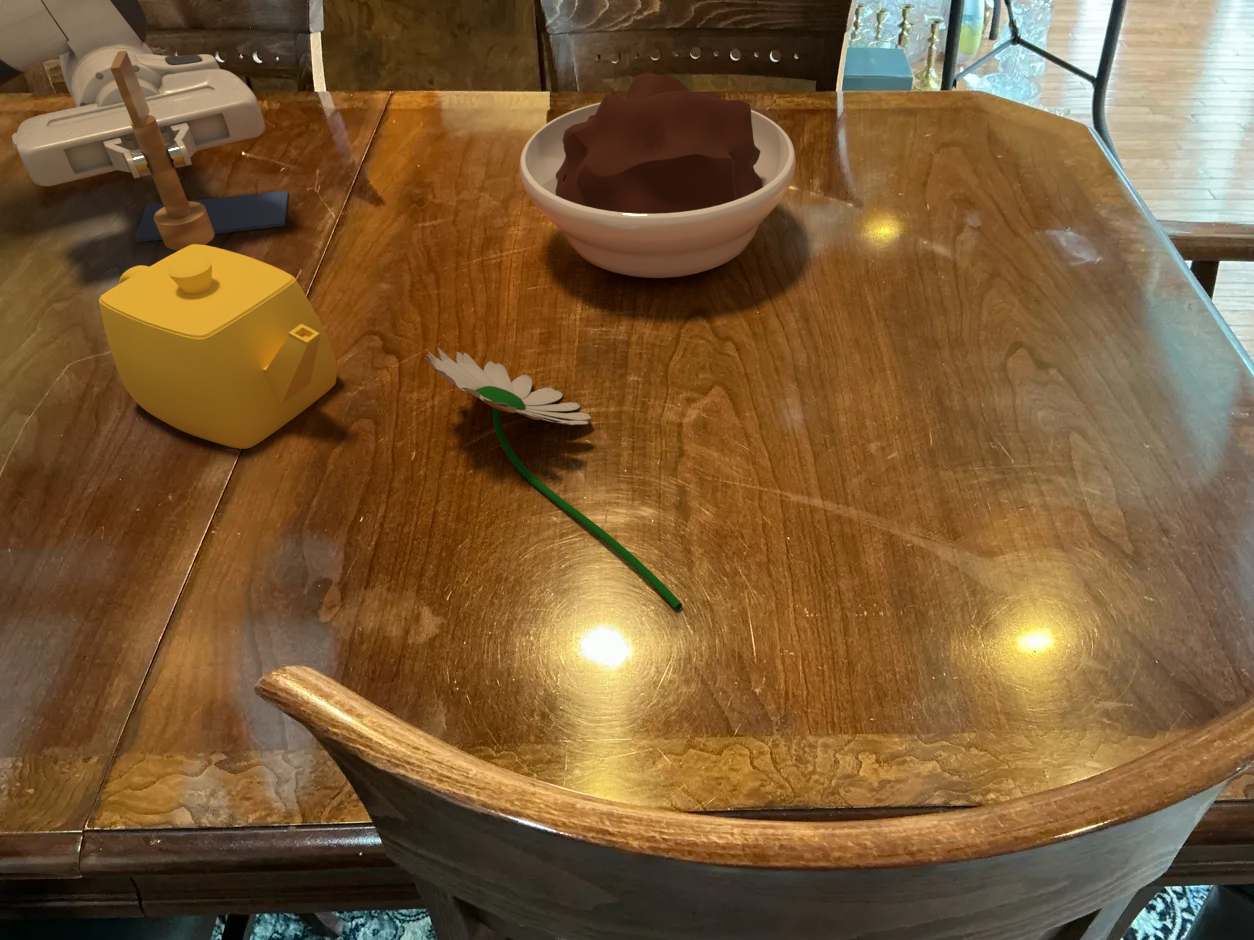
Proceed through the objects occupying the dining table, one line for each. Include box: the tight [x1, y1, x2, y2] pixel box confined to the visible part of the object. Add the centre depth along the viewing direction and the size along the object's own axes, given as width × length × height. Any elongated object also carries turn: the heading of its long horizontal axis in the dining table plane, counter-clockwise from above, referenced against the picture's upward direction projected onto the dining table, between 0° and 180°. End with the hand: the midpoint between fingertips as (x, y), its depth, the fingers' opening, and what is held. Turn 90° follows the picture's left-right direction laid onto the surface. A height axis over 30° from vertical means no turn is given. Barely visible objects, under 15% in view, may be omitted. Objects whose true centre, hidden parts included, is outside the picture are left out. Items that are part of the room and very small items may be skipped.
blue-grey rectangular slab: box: [134, 190, 290, 243], centre depth 108 cm, size 14×7×1 cm, turn 102°
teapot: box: [98, 244, 338, 450], centre depth 83 cm, size 20×12×12 cm, turn 61°
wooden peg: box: [110, 51, 216, 251], centre depth 93 cm, size 4×4×16 cm
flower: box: [423, 347, 683, 611], centre depth 77 cm, size 13×6×30 cm
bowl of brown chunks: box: [518, 72, 797, 279], centre depth 98 cm, size 25×25×15 cm
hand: (160, 163), depth 93 cm, fingers closed on wooden peg, 2 cm apart
